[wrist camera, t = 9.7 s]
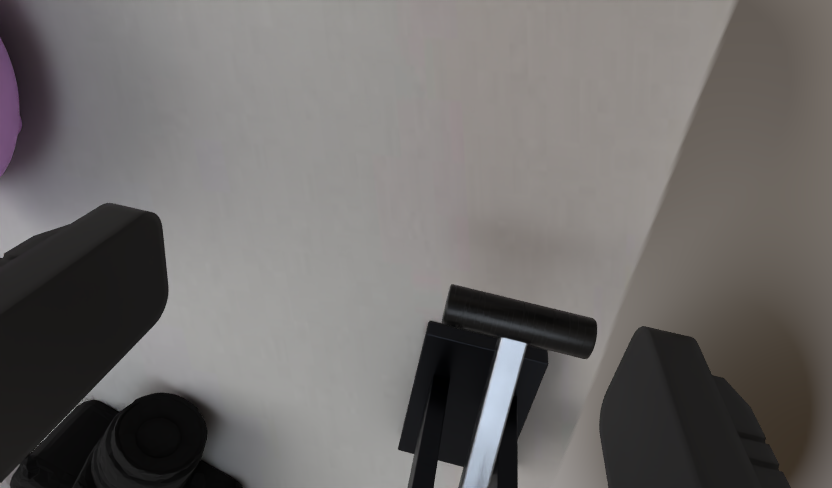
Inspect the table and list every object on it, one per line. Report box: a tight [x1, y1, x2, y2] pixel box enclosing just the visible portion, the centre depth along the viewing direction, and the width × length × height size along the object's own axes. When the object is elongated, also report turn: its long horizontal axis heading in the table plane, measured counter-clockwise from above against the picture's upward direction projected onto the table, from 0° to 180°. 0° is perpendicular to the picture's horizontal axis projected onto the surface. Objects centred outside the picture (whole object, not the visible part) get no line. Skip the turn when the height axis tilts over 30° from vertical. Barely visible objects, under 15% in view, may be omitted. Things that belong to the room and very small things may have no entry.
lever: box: [442, 284, 597, 488], centre depth 23 cm, size 14×6×2 cm, turn 170°
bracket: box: [398, 321, 548, 488], centre depth 28 cm, size 10×7×13 cm
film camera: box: [10, 393, 243, 488], centre depth 36 cm, size 15×10×9 cm, turn 55°
